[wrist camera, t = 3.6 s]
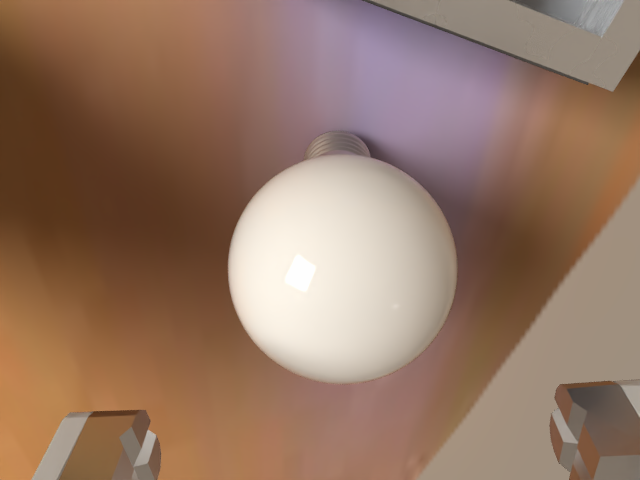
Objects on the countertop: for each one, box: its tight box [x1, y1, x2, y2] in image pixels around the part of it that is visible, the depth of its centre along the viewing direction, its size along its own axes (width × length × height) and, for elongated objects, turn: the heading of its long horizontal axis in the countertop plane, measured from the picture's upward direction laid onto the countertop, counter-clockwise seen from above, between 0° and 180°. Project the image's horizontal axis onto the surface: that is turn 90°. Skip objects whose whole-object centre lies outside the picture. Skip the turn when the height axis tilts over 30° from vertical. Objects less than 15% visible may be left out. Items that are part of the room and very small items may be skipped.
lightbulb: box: [228, 131, 458, 384], centre depth 17 cm, size 6×6×11 cm
